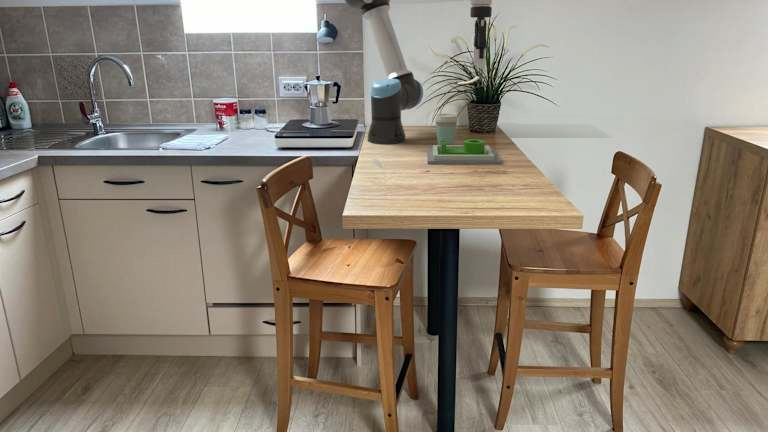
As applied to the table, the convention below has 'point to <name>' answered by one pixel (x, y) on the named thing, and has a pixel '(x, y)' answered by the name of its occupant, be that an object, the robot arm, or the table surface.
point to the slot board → (461, 156)
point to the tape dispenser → (469, 148)
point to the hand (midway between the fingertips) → (478, 66)
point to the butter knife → (377, 163)
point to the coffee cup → (446, 128)
